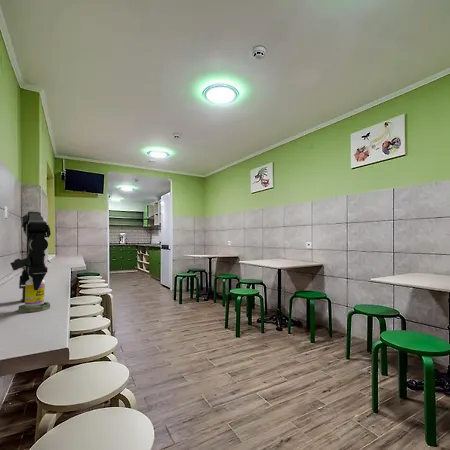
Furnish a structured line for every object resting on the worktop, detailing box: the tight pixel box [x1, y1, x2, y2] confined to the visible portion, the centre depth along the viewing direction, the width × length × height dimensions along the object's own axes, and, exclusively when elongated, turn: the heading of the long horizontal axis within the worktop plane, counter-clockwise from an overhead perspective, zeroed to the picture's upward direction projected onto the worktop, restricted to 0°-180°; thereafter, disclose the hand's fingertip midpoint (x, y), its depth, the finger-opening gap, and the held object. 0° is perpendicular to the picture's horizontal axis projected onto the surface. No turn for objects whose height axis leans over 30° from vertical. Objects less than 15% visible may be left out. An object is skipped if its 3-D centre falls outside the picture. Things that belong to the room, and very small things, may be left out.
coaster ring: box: [17, 301, 51, 314], centre depth 112 cm, size 11×11×2 cm
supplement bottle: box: [24, 276, 46, 307], centre depth 113 cm, size 7×7×13 cm
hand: (35, 289), depth 113 cm, fingers closed on supplement bottle, 7 cm apart
